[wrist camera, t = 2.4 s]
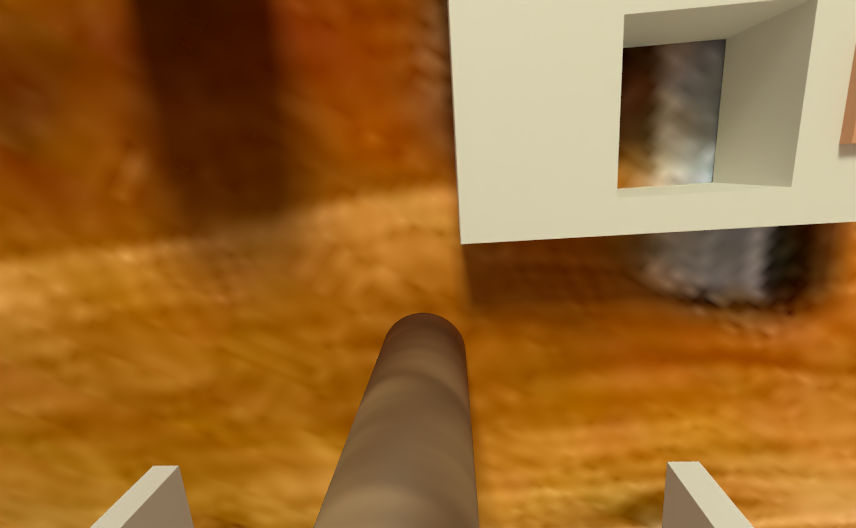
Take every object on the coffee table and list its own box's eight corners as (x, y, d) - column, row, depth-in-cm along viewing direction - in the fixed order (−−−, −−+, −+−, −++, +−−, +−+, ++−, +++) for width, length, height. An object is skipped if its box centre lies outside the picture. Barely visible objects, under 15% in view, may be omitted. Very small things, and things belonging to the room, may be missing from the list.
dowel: (387, 389, 20) (299, 701, 8) (379, 314, 19) (268, 548, 7) (467, 387, 20) (491, 705, 8) (463, 311, 19) (483, 547, 7)
